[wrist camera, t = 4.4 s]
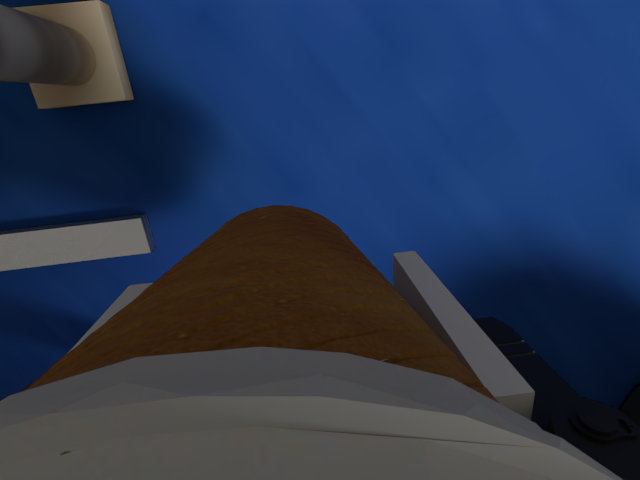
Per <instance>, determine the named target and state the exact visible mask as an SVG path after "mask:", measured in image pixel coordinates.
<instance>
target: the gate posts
mask: <svg viewBox="0 0 640 480" xmlns="http://www.w3.org/2000/svg"><path fill="white" fill-rule="evenodd" d="M0 81H8V82H23V83H29V84H30V87H31V90H32V93H33V95H34V98H35V101H36V104H37V106H38V109H47V108H59V107H69V106H78V105H88V104H98V103H107V102H117V101H127V100H134V96H133V93H132V89H131V85H130V81H129V78H128V74H127V70H126V67H125V63H124V59H123V55H122V52H121V48H120V44H119V40H118V37H117V33H116V29H115V25H114V22H113V18H112V14H111V11H110V7H109V5H107V4H105V3H103V2H102V1H100V0H92V1H81V2H71V3H60V4H49V5H38V6H27V7H16V8H10V7H7V6H4V5H1V4H0Z"/></svg>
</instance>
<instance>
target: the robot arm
mask: <svg viewBox="0 0 640 480" xmlns="http://www.w3.org/2000/svg"><path fill="white" fill-rule="evenodd" d="M393 275H394V289H395V290H396V291H397V292H398V293H399V294H400V295H401V296H402V297H403V298H404V299H405V300H406V301H407V302H408V303H409V304H410V305H411V306H412V308H413V309H414V310H415V311H416V312H417V313H418V314H419V315H420V316H421V317H422V318H423V319H424V320H425V323H426V324H427V325H428V326H429V327H430V328H431V329H432V330H433V331H434V332H435V333H436V334H437V335H438V336H439V337H440V339H441V340H442V341H443V342H444V343H445V344H446V345H447V346H448V347H449V348H450V349H451V350H452V351H453V352H454V353H455V354H456V355H457V356H458V360H459V361H460V362H461V363H462V364H463V365H464V366H466V367H467V368H468V369H469V370H470V371H471V372H472V373H473V374H474V375H475V376H476V377H477V378H478V379H479V380H480V383H481V387H485V388H487V389H488V390H489V391H490V392H491V394H492V395H493V396H494V397H495V398H496V400H497V401H498V402H499V403H500V404H501V405H503V406H505V407H507V408H508V409H510V410H512V411H514V412H516V413H518V414H520V415H521V416H523V417H525V418H527V419H529V420H531V421H533V422H534V423H536V424H537V425H538V426H539V427H540V428H541V429H542V430H543V431H546V432H548V433H551V434H553V435H556V436H558V437H561V438H562V439H564V440H565V441H567V442H568V443H570V444H571V445H573V446H574V447H576V448H577V449H579V450H580V451H582V452H583V453H585V454H586V455H588V456H589V457H590V458H592V459H593V460H595V461H596V462H598V463H599V464H601V465H602V466H604V467H605V468H607V469H608V470H610V471H611V472H613V473H614V474H616V475H617V476H619V477H620V478H621V479H623V480H640V385H639V386H638V387H637V388H636V389H635V390H634V392H633V393H632V394H631V395H630V396H629V398H628V399H627V400H626V402H625V403H624V405H623V407H622V408H621V410H620V411H619V410H617V409H615V408H613V407H611V406H609V405H606V404H604V403H602V402H599V401H595V400H591V399H587V398H581V397H580V396H579V395H578V394H577V393H576V392H575V391H574V390H573V389H572V388H571V387H570V386H569V385H568V384H567V383H566V382H565V381H564V380H563V379H562V378H561V377H560V376H559V375H558V374H557V373H556V372H555V371H554V370H553V369H552V368H551V367H550V366H549V365H548V364H547V363H546V362H545V361H544V360H543V359H542V358H541V357H540V356H539V355H538V354H535V351H534V350H533V349H532V348H531V347H530V346H529V345H528V344H527V343H524V340H523V339H522V338H521V337H520V336H519V335H518V334H517V333H516V332H515V331H514V330H513V329H512V328H511V327H510V326H508V325H506V324H504V323H502V322H500V321H499V320H497V319H495V318H493V317H490V318H483V319H475V320H473V319H472V317H471V316H470V315H469V314H468V313H467V312H466V310H465V309H464V308H463V307H462V306H461V305H460V303H459V302H458V301H457V300H456V299H455V298H454V296H453V295H452V294H451V293H450V292H449V290H448V289H447V288H446V287H445V286H444V285H443V283H442V282H441V281H440V280H439V279H438V278H437V276H436V275H435V274H434V273H433V272H432V271H431V269H430V268H429V267H428V266H427V265H426V264H425V262H424V261H423V260H422V259H421V258H420V256H419V255H418V254H417V253H416V252H415V251H409V252H400V253H393ZM151 284H153V283H145V284H137V285H129V286H128V287H127V289H126V290H125V291H124V292H123V293H122V294H121V295H120V296H119V297H118V298H117V299H116V301H115V302H114V303H113V304H112V305H111V306H110V307H109V308H108V309H107V310H106V312H105V313H104V314H103V315H102V316H101V317H100V318H99V319H98V320H97V321H96V322H95V324H94V325H93V326H92V327H91V328H90V329H89V330H88V331H87V332H86V333H85V335H84V336H83V337H82V338H81V339H80V340H79V341H78V342H77V343H76V344H75V345H74V347H73V348H72V349H71V350H73V349H74V348H75V347H77V346H78V345H79V344H80V343H81V342H82V341H83V340H85V339H86V338H87V337H88V336H89V335H90V334H91V333H93V332H94V331H95V330H97V329H98V328H99V327H101V326H102V325H103V324H105V323H106V322H107V321H108V320H109V319H110V318H111V317H112V316H113V315H115V314H116V313H117V312H119V311H120V310H121V309H123V308H124V307H125V306H127V305H128V304H129V303H131V302H132V301H133V300H134V299H135V298H137V297H138V296H139V295H140V294H141V293H142V292H143V291H144V290H145V289H146V288H147V287H149V286H150V285H151ZM71 350H70V351H71ZM70 351H69V352H70ZM69 352H68V353H69ZM38 379H39V378H38ZM38 379H37V380H38ZM35 381H36V380H35ZM35 381H34V382H35ZM34 382H33V383H34ZM33 383H31V384H33ZM31 384H30V385H31ZM30 385H28V386H27V387H26V388H24V389H23V390H21V391H20V392H23V391H24V390H25V389H27V388H28V387H29V386H30Z"/></svg>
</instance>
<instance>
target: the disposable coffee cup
mask: <svg viewBox="0 0 640 480" xmlns="http://www.w3.org/2000/svg"><path fill="white" fill-rule="evenodd" d="M0 480H623V479H621V478H620V477H619V476H617V475H616V474H614V473H613V472H611V471H610V470H608V469H607V468H605V467H604V466H602V465H601V464H599V463H598V462H596V461H595V460H593V459H592V458H590V457H589V456H588V455H586V454H585V453H583V452H582V451H580V450H579V449H577V448H576V447H574V446H573V445H571V444H570V443H568V442H567V441H565V440H564V439H562V438H561V437H558V436H556V435H553V434H551V433H548V432H546V431H543V430H542V429H541V428H540V427H539V426H538V425H537V424H536V423H534V422H533V421H531V420H529V419H527V418H525V417H523V416H521V415H520V414H518V413H516V412H514V411H512V410H510V409H508V408H507V407H505V406H503V405H501V404H500V403H499V402H498V401H497V400H496V398H495V397H494V396H493V395H492V394H491V392H490V391H489V390H488V389H487V388H485V387H481V383H480V380H479V379H478V378H477V377H476V376H475V375H474V374H473V373H472V372H471V371H470V370H469V369H468V368H467V367H466V366H464V365H463V364H462V363H461V362H460V361H459V360H458V356H457V355H456V354H455V353H454V352H453V351H452V350H451V349H450V348H449V347H448V346H447V345H446V344H445V343H444V342H443V341H442V340H441V339H440V337H439V336H438V335H437V334H436V333H435V332H434V331H433V330H432V329H431V328H430V327H429V326H428V325H427V324H426V323H425V320H424V319H423V318H422V317H421V316H420V315H419V314H418V313H417V312H416V311H415V310H414V309H413V308H412V306H411V305H410V304H409V303H408V302H407V301H406V300H405V299H404V298H403V297H402V296H401V295H400V294H399V293H398V292H397V291H396V290H395V289H394V288H393V286H392V285H391V284H390V283H389V282H388V281H387V280H386V279H385V278H384V276H383V274H382V273H380V272H379V271H378V270H377V268H376V267H375V266H374V265H373V264H372V263H371V262H370V261H369V260H368V259H367V258H366V257H365V256H364V254H363V253H362V252H361V251H360V250H359V249H358V248H357V247H356V246H355V245H354V244H353V243H352V241H351V240H350V239H349V237H348V236H347V235H346V234H345V233H344V232H343V231H342V230H341V229H340V228H339V227H338V226H337V225H336V224H334V223H332V222H331V221H329V220H328V219H326V218H325V217H323V216H322V215H319V214H317V213H315V212H312V211H310V210H307V209H303V208H298V207H294V206H275V205H273V206H267V207H261V208H256V209H253V210H250V211H248V212H245V213H242V214H240V215H238V216H236V217H235V218H233V219H231V220H230V221H228V222H227V223H225V224H224V225H223V226H222V227H221V228H220V229H219V230H218V231H216V232H215V233H214V234H213V235H212V236H210V237H209V238H208V239H206V240H205V241H204V242H203V243H202V244H200V245H199V246H198V247H197V248H196V249H194V250H193V251H192V252H191V253H189V254H188V255H187V256H185V257H184V258H183V259H182V260H180V261H179V262H178V263H177V264H176V265H174V266H173V267H172V268H171V269H170V270H169V271H168V272H166V273H165V274H164V275H163V276H162V277H160V278H159V279H158V280H157V281H155V282H154V283H153V284H151V285H150V286H149V287H147V288H146V289H145V290H144V291H143V292H142V293H141V294H140V295H139V296H138V297H137V298H135V299H134V300H133V301H132V302H131V303H129V304H128V305H127V306H125V307H124V308H123V309H121V310H120V311H119V312H117V313H116V314H115V315H113V316H112V317H111V318H110V319H109V320H108V321H107V322H106V323H105V324H103V325H102V326H101V327H99V328H98V329H97V330H95V331H94V332H93V333H91V334H90V335H89V336H88V337H87V338H86V339H85V340H83V341H82V342H81V343H80V344H79V345H78V346H77V347H75V348H74V349H73V350H71V351H70V352H69V353H67V354H66V355H65V356H63V357H62V358H61V359H60V360H58V361H57V362H56V363H55V364H54V365H53V366H52V367H51V368H50V369H49V370H48V371H47V372H46V373H44V374H43V375H42V376H41V377H40V378H39V379H38V380H36V381H35V382H34V383H33V384H31V385H30V386H29V387H28V388H27V389H25V390H24V391H23V392H19V393H16V394H13V395H10V396H8V397H6V398H5V399H3V400H1V401H0Z"/></svg>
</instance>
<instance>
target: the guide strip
mask: <svg viewBox="0 0 640 480" xmlns="http://www.w3.org/2000/svg"><path fill="white" fill-rule="evenodd" d="M154 248H155V243H154V240H153V236H152V233H151V229H150V226H149V222H148V219H147V215H146V214H141V215H132V216H124V217H115V218H107V219H98V220H90V221H81V222H73V223H65V224H56V225H48V226H39V227H31V228H22V229H14V230H5V231H0V271H6V270H14V269H22V268H30V267H38V266H46V265H55V264H63V263H71V262H79V261H87V260H95V259H103V258H111V257H119V256H127V255H136V254H144V253H151V252H152V251H153V250H154Z"/></svg>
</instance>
